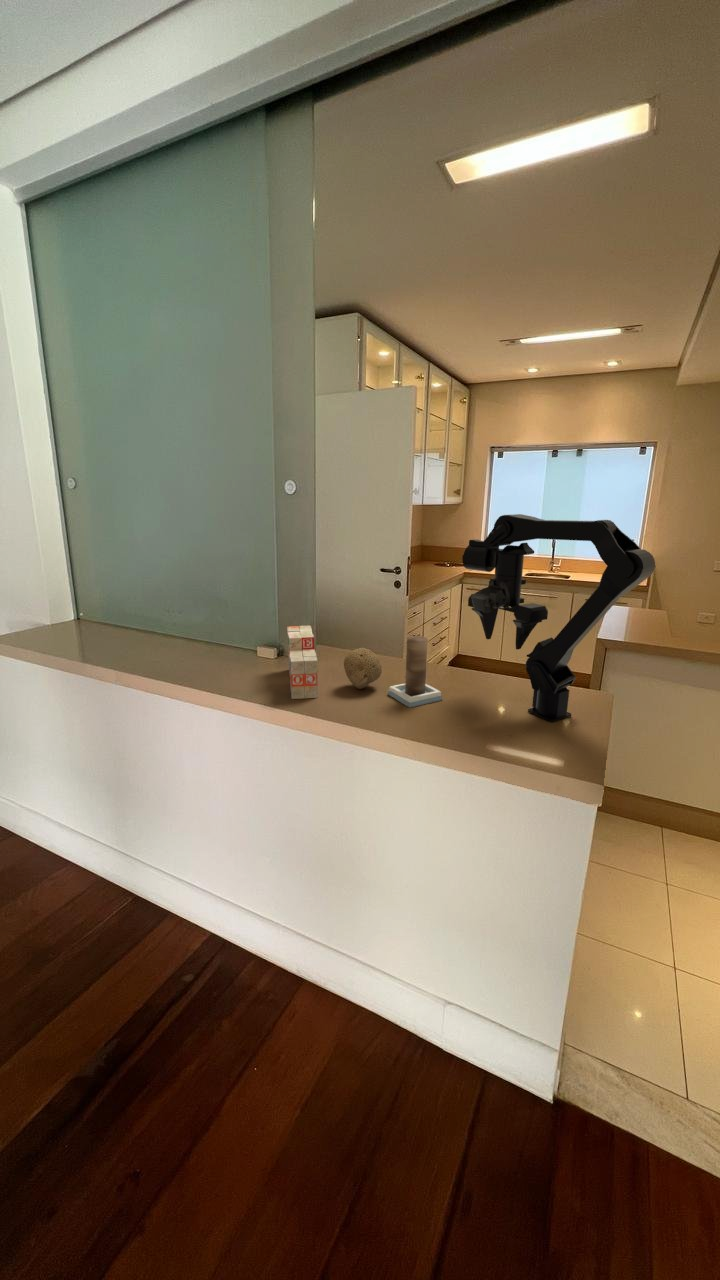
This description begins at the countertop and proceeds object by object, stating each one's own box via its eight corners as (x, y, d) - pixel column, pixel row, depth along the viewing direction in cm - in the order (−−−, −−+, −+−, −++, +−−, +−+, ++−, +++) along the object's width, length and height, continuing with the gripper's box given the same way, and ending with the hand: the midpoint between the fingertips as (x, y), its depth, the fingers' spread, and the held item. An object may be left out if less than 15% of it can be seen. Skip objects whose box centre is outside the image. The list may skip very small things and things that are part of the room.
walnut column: (429, 692, 119) (431, 639, 115) (417, 698, 116) (419, 643, 112) (413, 687, 122) (415, 634, 118) (401, 693, 119) (402, 639, 115)
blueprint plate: (442, 699, 118) (442, 691, 117) (409, 707, 113) (409, 699, 113) (419, 687, 125) (419, 679, 125) (387, 694, 121) (387, 686, 120)
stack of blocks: (318, 698, 119) (317, 647, 115) (291, 700, 118) (289, 648, 114) (312, 668, 139) (310, 624, 136) (288, 669, 138) (286, 625, 135)
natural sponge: (375, 680, 130) (375, 642, 127) (386, 692, 122) (387, 652, 119) (340, 683, 128) (340, 644, 125) (349, 696, 120) (349, 655, 117)
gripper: (451, 571, 115) (447, 638, 119) (513, 583, 99) (506, 660, 103) (488, 568, 120) (484, 632, 124) (553, 579, 104) (545, 652, 109)
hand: (502, 644), depth 115 cm, fingers open, 9 cm apart
